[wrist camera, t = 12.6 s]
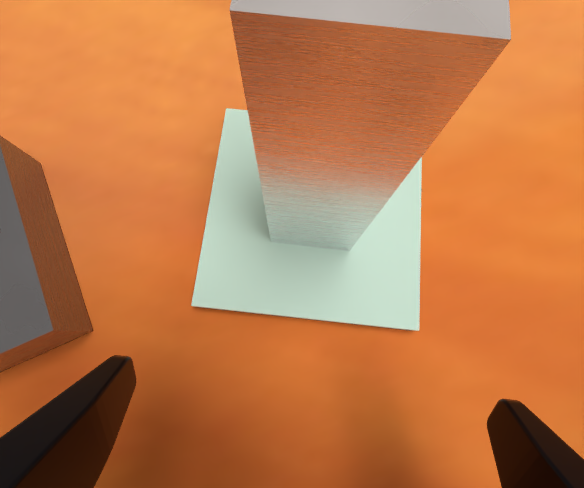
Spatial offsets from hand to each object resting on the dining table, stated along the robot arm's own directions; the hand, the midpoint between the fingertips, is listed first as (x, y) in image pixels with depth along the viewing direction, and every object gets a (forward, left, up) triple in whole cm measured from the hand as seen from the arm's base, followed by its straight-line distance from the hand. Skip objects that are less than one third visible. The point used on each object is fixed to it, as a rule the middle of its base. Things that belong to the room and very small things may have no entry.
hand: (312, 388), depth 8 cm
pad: (+7, +2, -9) cm, 11 cm away
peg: (+7, +2, -8) cm, 11 cm away
